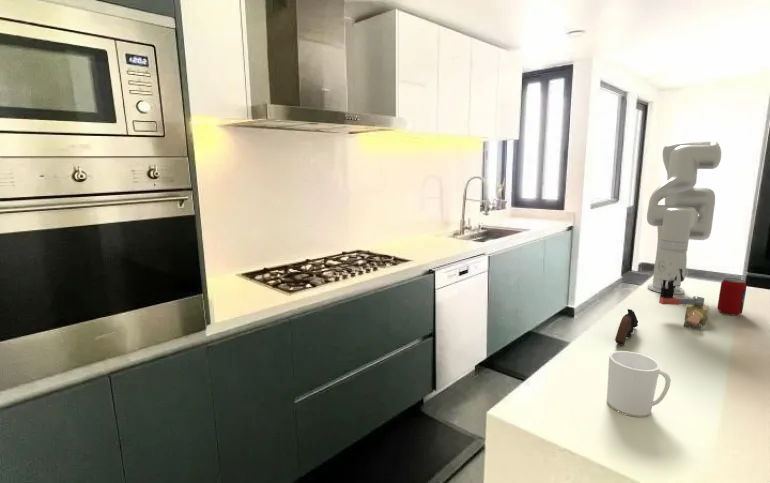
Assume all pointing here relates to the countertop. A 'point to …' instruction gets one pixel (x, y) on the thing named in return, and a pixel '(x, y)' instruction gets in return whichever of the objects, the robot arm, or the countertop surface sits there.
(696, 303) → the lever
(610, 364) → the mug
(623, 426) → the countertop surface
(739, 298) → the beverage can
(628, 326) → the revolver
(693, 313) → the pipework
